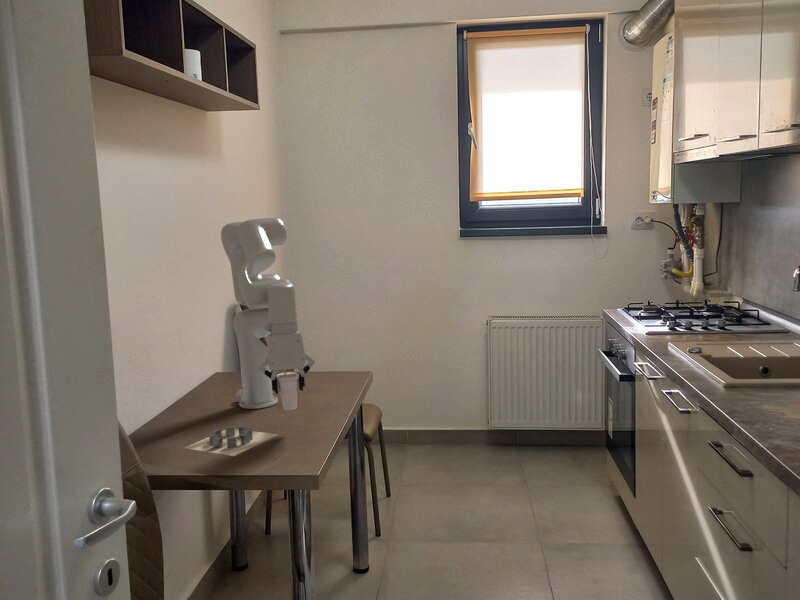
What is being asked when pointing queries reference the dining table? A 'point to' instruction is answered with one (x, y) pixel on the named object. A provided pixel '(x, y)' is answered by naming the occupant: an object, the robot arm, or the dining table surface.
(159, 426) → the dining table surface
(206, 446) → the socket plate
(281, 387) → the smoothie
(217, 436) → the grey blocks
